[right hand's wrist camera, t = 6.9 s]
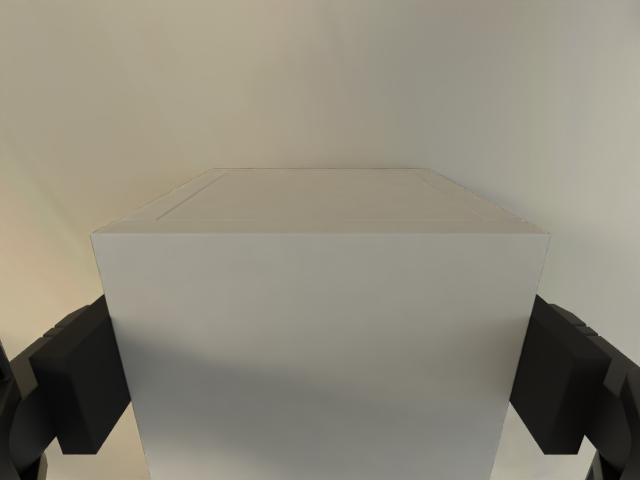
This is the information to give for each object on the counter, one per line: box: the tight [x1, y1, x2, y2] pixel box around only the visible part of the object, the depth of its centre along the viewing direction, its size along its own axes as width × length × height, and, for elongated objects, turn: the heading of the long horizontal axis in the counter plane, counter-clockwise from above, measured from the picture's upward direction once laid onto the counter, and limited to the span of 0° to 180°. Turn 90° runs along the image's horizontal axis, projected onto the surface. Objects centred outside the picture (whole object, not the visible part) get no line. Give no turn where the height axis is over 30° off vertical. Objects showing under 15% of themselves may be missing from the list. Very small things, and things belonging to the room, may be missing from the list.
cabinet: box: [90, 169, 551, 480], centre depth 16 cm, size 22×10×9 cm, turn 0°
